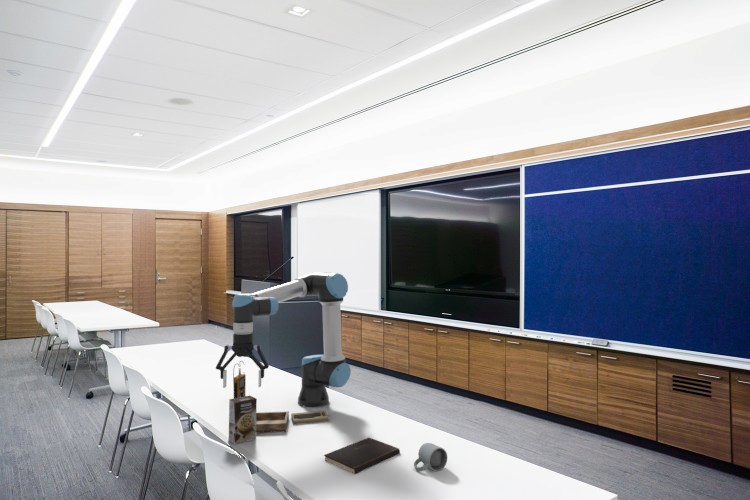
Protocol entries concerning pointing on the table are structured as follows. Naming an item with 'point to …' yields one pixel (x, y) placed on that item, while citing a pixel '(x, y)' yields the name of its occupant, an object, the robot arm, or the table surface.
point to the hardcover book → (361, 455)
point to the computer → (309, 417)
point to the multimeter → (239, 384)
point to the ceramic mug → (431, 457)
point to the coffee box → (242, 419)
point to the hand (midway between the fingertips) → (242, 386)
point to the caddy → (271, 421)
